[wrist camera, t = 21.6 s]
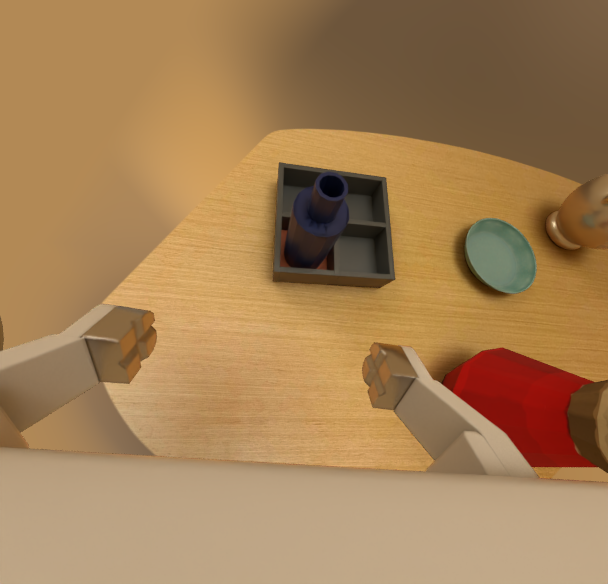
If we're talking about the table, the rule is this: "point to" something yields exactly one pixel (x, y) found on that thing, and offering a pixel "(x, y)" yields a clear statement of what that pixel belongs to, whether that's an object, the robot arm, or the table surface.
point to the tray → (354, 239)
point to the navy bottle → (316, 221)
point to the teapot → (582, 217)
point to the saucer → (500, 256)
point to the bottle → (537, 407)
